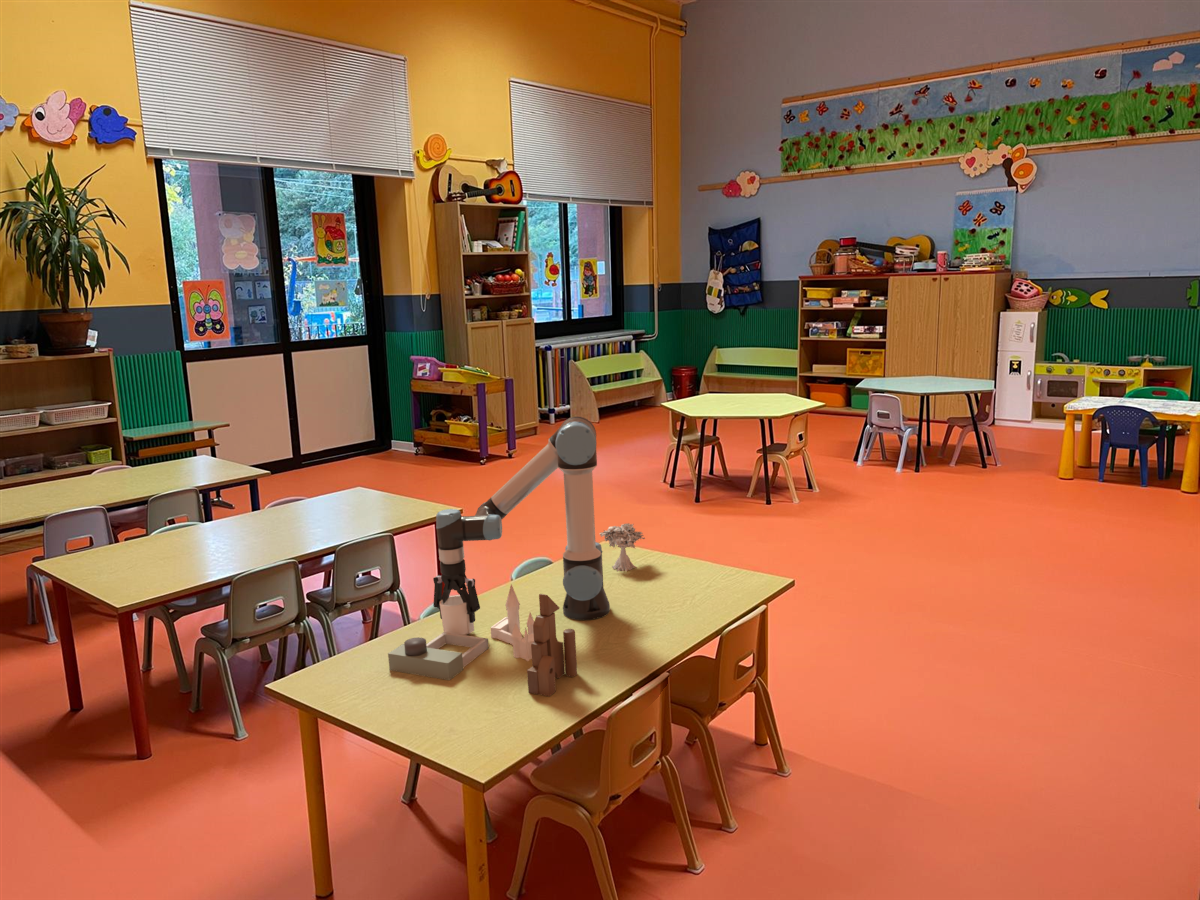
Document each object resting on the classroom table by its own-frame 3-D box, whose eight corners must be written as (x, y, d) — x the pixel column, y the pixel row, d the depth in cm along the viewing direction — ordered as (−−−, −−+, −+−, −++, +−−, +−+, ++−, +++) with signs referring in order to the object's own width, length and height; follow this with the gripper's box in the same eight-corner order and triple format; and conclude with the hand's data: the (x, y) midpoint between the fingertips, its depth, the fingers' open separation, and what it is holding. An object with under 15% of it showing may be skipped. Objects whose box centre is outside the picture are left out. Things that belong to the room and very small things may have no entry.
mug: (461, 639, 268) (458, 607, 266) (436, 636, 271) (433, 604, 269) (480, 626, 277) (478, 594, 275) (457, 622, 281) (454, 592, 279)
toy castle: (509, 625, 278) (506, 576, 275) (562, 647, 261) (559, 595, 258) (472, 640, 269) (468, 589, 266) (524, 663, 251) (521, 609, 248)
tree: (631, 578, 317) (629, 533, 313) (593, 572, 325) (590, 528, 321) (654, 563, 332) (652, 520, 328) (617, 557, 340) (615, 516, 337)
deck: (490, 648, 262) (489, 622, 260) (449, 680, 242) (447, 652, 240) (434, 639, 270) (432, 615, 268) (389, 670, 250) (387, 643, 248)
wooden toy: (549, 697, 230) (544, 606, 225) (528, 692, 233) (522, 602, 228) (579, 673, 243) (574, 586, 238) (558, 669, 246) (553, 583, 241)
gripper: (488, 558, 269) (494, 629, 273) (430, 553, 277) (437, 622, 282) (475, 566, 262) (481, 639, 267) (416, 561, 271) (423, 631, 275)
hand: (458, 630), depth 274 cm, fingers closed on mug, 8 cm apart
